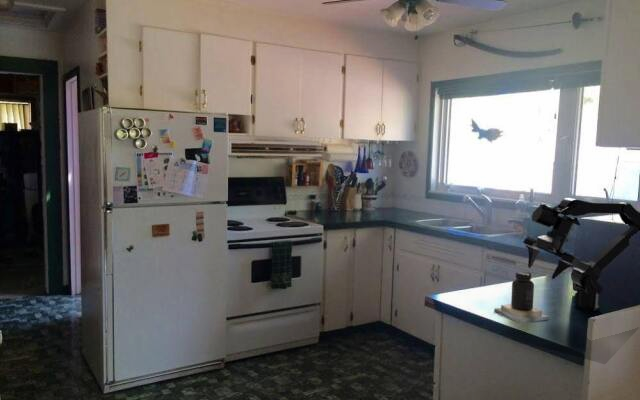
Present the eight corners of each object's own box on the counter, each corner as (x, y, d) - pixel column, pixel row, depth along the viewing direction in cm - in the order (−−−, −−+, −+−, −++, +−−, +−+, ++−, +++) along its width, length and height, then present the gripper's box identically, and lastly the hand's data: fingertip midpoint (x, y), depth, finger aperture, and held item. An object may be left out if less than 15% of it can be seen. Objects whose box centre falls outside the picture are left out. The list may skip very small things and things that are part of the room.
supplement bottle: (529, 305, 175) (532, 270, 173) (535, 311, 168) (537, 275, 167) (508, 304, 176) (510, 269, 174) (513, 310, 169) (515, 274, 168)
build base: (522, 308, 180) (522, 301, 179) (548, 319, 169) (549, 311, 168) (494, 311, 176) (494, 304, 175) (519, 322, 164) (519, 315, 164)
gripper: (525, 218, 181) (506, 258, 183) (575, 237, 167) (554, 281, 168) (539, 224, 188) (521, 263, 190) (588, 244, 174) (569, 286, 176)
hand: (540, 273), depth 181 cm, fingers open, 9 cm apart
